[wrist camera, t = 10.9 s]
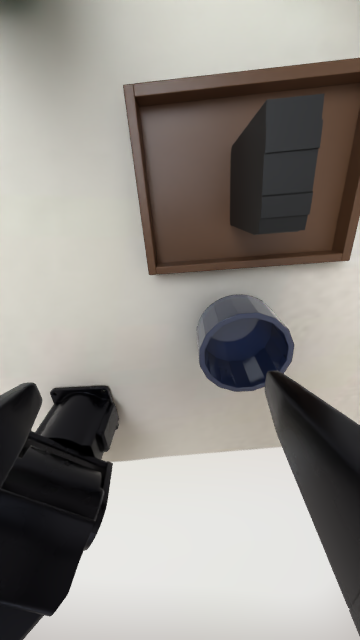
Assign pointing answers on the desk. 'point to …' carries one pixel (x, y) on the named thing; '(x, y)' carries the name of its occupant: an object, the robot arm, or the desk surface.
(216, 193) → the tray
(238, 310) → the cup
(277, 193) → the ink cartridge
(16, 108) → the desk surface
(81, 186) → the desk surface
